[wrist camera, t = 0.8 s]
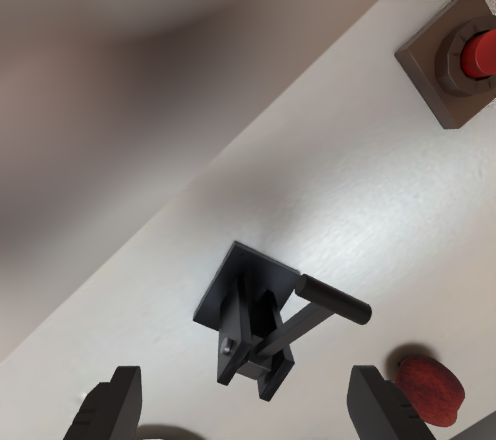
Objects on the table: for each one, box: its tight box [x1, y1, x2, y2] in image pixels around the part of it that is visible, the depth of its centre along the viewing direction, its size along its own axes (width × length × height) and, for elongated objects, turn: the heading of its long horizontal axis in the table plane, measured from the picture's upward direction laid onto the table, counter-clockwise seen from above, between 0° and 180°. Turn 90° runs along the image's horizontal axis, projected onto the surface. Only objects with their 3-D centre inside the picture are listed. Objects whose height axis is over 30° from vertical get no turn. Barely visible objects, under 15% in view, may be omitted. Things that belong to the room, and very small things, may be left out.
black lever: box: [236, 274, 372, 380], centre depth 23 cm, size 13×5×2 cm, turn 152°
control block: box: [394, 0, 496, 129], centre depth 29 cm, size 10×8×4 cm
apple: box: [395, 354, 465, 427], centre depth 38 cm, size 7×8×8 cm
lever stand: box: [193, 241, 301, 402], centre depth 31 cm, size 11×9×13 cm
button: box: [461, 29, 496, 78], centre depth 27 cm, size 4×4×2 cm
